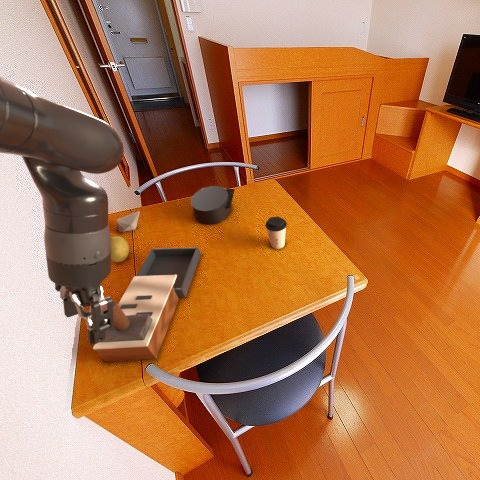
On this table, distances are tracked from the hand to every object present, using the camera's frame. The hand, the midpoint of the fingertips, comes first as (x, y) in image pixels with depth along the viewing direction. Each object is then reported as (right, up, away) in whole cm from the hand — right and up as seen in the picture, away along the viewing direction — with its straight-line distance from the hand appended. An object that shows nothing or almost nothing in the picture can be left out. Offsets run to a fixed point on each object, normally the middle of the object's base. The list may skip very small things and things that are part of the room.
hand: (84, 327), depth 49 cm
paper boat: (-26, +20, +51) cm, 60 cm away
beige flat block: (-2, -5, +22) cm, 23 cm away
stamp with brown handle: (-2, -5, +13) cm, 14 cm away
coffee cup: (+27, +14, +46) cm, 55 cm away
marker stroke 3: (0, -2, +16) cm, 17 cm away
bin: (-4, +5, +34) cm, 34 cm away
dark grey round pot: (0, +27, +60) cm, 66 cm away
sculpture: (-21, +10, +39) cm, 45 cm away
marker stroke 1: (-5, -1, +18) cm, 19 cm away
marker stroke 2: (-2, +1, +20) cm, 20 cm away
